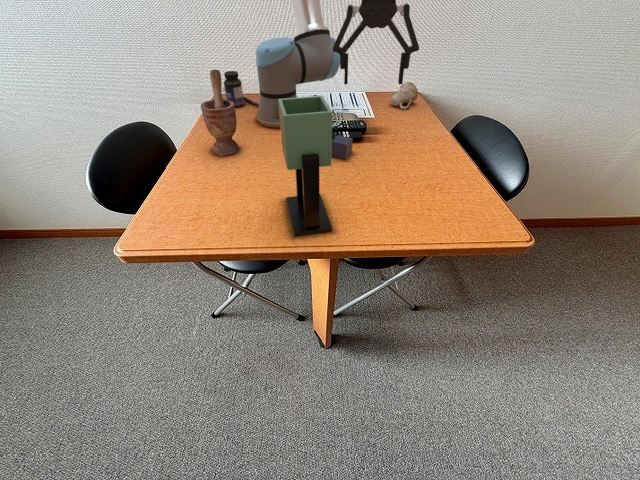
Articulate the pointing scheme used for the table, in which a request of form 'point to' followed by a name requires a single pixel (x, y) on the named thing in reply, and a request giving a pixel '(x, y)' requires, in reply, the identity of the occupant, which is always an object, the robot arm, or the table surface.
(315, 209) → the stand
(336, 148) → the block
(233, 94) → the pill bottle
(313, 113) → the green square planter
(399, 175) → the table surface
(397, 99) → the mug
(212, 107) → the mortar and pestle
